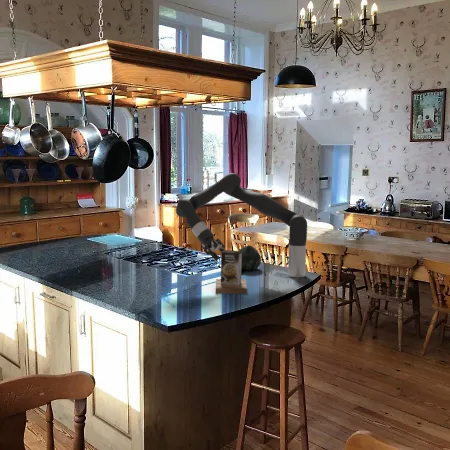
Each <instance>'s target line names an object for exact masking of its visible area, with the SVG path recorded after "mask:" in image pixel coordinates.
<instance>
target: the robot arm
mask: <svg viewBox="0 0 450 450" xmlns="http://www.w3.org/2000/svg"><path fill="white" fill-rule="evenodd" d="M222 193H225V194H226V195H228V196H230V197H232V198H234V199H236V200H238V201H241V202H243V203H245V204H246V205H248V206H250V207H252V208H253V209H255V210H256V211H258V212H260V213H262V214H265V215H266V216H268V217H270V218H274V219H276V220H279V221H281V222H282V223H284V225H286V226H288V227H289V237H288V261H287V262H288V265H287V266H288V268H287V276H288V277H291V278H304V277H306V264H307V263H306V259H307V254H306V253H307V239H308V220H306V217H304V216H303V215H302V214H299V213H297V212H294V211H293V210H290V209H288V208H287V207H285V206H284V205H282V204H281V203H279V202H278V201H277V200H275V199H273V198H271V197H270V196H268V195H267V194H264V193H262V192H255V191H249V190H247V189H245V188H243V187H241V177H240V175H238V174H237V173H235V172H229V173H228V174H226V175H224V176H223V177H222V178H221V179H219V180H218V181H217V182H215V183H214V184H212V185H210V186H209V187H207V188H205V189H203V190H201V191H198V192H197V193H196V194H193V195H192V196H191V197H190V198H189V199H186V198H181V199H180V200H179V201H178V202H177V206H176V208H175V213H176V215H177V216H178V217H179V218H185V221H186V225H187V226H188V228H189V229H191V231H192V233H193V235H194V236H195V237H196V238H197V240H198V241H199V242H200V244H201V245H200V247H201V248H202V249H203V251H204V252H205V254H206V255H207V256H211V257H212V258H213V259H214V260H215V261H218V260H219V259H220V257H219V256H218V254H217V253H216V251H218V252H220V253H221V252H222V251H224V250H225V248H226V246H225V244H224V243H223V242H222V241H221V240H220V239H219V238H218V237H217V238H216V239H215V238H214V237H215V234H214V232H212V231H211V229H210V227H208V226H207V224H206V223H205V222H204V221H203V220H202V219H201V217H200V216H199V215H198V213H197V209H199V208H201V207H203V206H205V205H207V204H209V203H210V202H212V201H213V200H214V199H216V197H218V196H219V195H220V194H222Z"/></svg>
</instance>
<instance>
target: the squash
mask: <svg viewBox="0 0 450 450" xmlns="http://www.w3.org/2000/svg"><path fill="white" fill-rule="evenodd" d="M238 251H242V262H241V270H246V271H247V272H249V271H254V270H257V269H258V268H259V267H260V265H261V263H262V258H261V255H260V252H259V251H258V250H257V249H256V248H255V247H254V246H252V245H245V246H244V247H241V248H240V249H239V250H238Z"/></svg>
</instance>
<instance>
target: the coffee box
mask: <svg viewBox="0 0 450 450" xmlns="http://www.w3.org/2000/svg"><path fill="white" fill-rule="evenodd" d="M220 255H221V256H220V258H221V260H220V279H221V284H226V285H237V286H238V285H239V284H240V283H241V279H242V269H241V262H242V251H239V250H229V249H224V251H222V252H220Z"/></svg>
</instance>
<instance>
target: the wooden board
mask: <svg viewBox="0 0 450 450" xmlns="http://www.w3.org/2000/svg"><path fill="white" fill-rule="evenodd" d="M215 294H238V295H239V294H248V286H247V279H245V278H241V283H240V284H239V285H238V286H237V285H226V284H221V278H215Z"/></svg>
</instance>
